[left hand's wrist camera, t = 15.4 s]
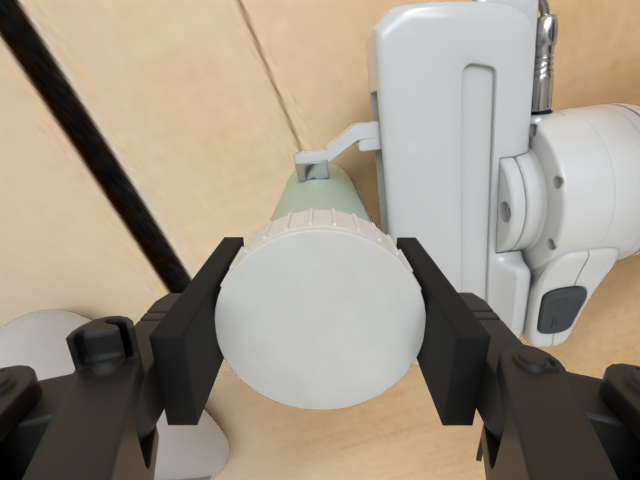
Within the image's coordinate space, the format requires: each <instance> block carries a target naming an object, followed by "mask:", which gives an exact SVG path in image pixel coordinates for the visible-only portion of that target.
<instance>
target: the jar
mask: <svg viewBox="0 0 640 480" xmlns="http://www.w3.org/2000/svg"><path fill="white" fill-rule="evenodd" d="M327 162H328V161H327ZM328 171H329V178H325V179H315V178H312V179H311V180H309V181H304V182H299V181H298V178H297V173H296V171H295V172H294V173H293V174H292V175H291V177H290V179H289V181H288V183H287V185H286V187H285V190H284V192H283V194H282V196H281V198H280V200H279V203H278V205H277V207H276V209H275V211H274V213H273V216H272V218H271V220H272V221H275V220H277V219H279V218H281V217H284V216H287V215H288V213H289V212H292V214H293V213H297V212H301V211H308V210H310V208H313V210H331V208H334V209H335V211H339V212H344V213H347V214H351V215H352V213H355V214H356V216H357V217H359V218H361V219H363V220H366V221H367V222H369V223H371V221H370V219H369V217H368V215H367V213H366V210H365V208H364V206H363V204H362V202H361V200H360V197H359V195H358V193H357V191H356V189H355V187H354V185H353V182H352V180H351V178H350V177H349V175H348V174H347V173H346V171H345V170H344V169H342V168H341V167H340V166H338V165H336V164H334V163H332V162H329V163H328ZM271 220H270V221H271Z"/></svg>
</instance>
